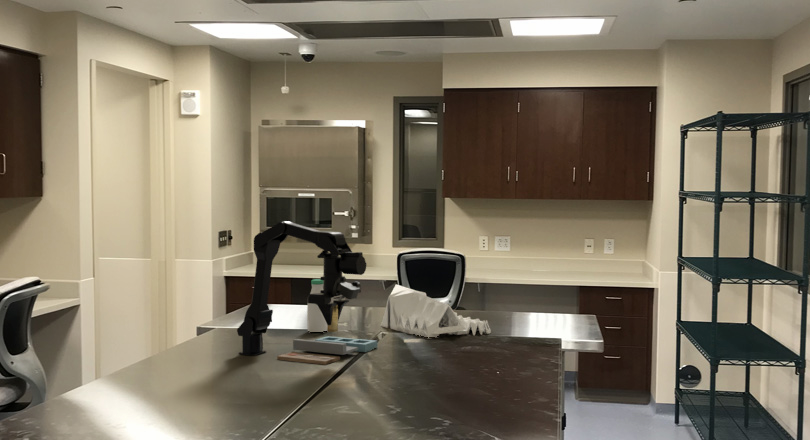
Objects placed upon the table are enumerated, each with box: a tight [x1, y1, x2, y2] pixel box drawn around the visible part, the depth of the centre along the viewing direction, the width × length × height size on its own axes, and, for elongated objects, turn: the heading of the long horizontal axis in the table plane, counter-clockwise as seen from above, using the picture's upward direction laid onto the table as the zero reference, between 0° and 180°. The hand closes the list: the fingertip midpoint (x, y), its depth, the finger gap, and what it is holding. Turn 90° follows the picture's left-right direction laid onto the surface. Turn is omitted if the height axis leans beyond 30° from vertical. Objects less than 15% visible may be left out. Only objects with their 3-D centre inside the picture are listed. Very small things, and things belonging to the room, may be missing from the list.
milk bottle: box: [306, 278, 328, 333], centre depth 278 cm, size 8×8×20 cm
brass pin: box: [327, 304, 339, 333], centre depth 221 cm, size 3×3×8 cm
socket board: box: [314, 335, 378, 353], centre depth 245 cm, size 8×20×2 cm, turn 63°
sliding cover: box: [292, 338, 358, 356], centre depth 234 cm, size 9×19×3 cm, turn 63°
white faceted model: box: [380, 284, 492, 339], centre depth 283 cm, size 42×27×17 cm, turn 33°
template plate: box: [276, 351, 341, 366], centre depth 226 cm, size 8×18×1 cm, turn 63°
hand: (332, 324), depth 221 cm, fingers closed on brass pin, 3 cm apart
